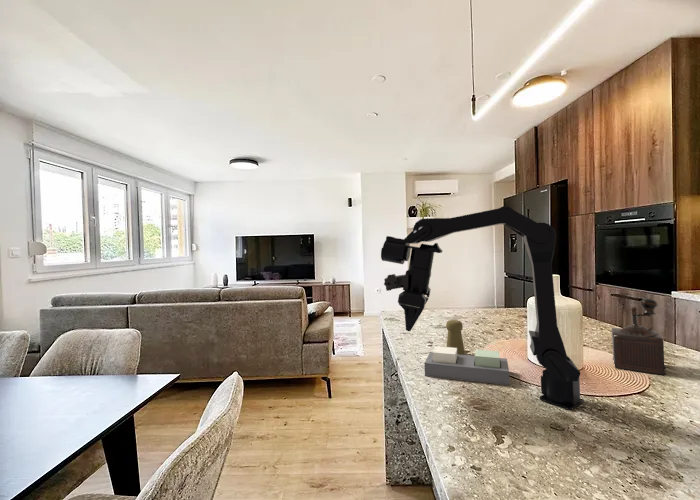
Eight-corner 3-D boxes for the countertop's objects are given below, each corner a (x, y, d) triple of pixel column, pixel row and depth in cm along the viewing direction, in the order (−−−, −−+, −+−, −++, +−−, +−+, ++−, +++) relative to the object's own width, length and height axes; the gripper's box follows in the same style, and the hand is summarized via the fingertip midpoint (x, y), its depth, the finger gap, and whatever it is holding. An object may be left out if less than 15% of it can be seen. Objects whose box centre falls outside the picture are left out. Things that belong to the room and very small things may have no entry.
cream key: (457, 359, 95) (457, 347, 95) (455, 366, 89) (455, 354, 89) (436, 357, 97) (435, 346, 97) (433, 363, 91) (432, 352, 91)
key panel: (507, 371, 91) (506, 358, 91) (509, 385, 82) (509, 371, 82) (430, 363, 99) (430, 352, 99) (424, 375, 90) (424, 362, 90)
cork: (466, 357, 104) (465, 322, 104) (446, 356, 105) (445, 322, 105) (463, 351, 110) (462, 318, 110) (445, 350, 111) (443, 318, 111)
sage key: (499, 362, 90) (498, 351, 90) (500, 370, 85) (499, 358, 85) (476, 360, 93) (475, 349, 93) (475, 367, 87) (474, 355, 87)
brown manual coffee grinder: (669, 376, 84) (667, 306, 84) (614, 368, 90) (611, 303, 91) (659, 359, 96) (657, 298, 97) (611, 353, 103) (609, 296, 103)
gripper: (395, 260, 96) (387, 312, 97) (382, 264, 78) (372, 328, 79) (434, 267, 93) (425, 320, 94) (429, 273, 75) (418, 339, 76)
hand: (410, 326), depth 86 cm, fingers open, 9 cm apart
